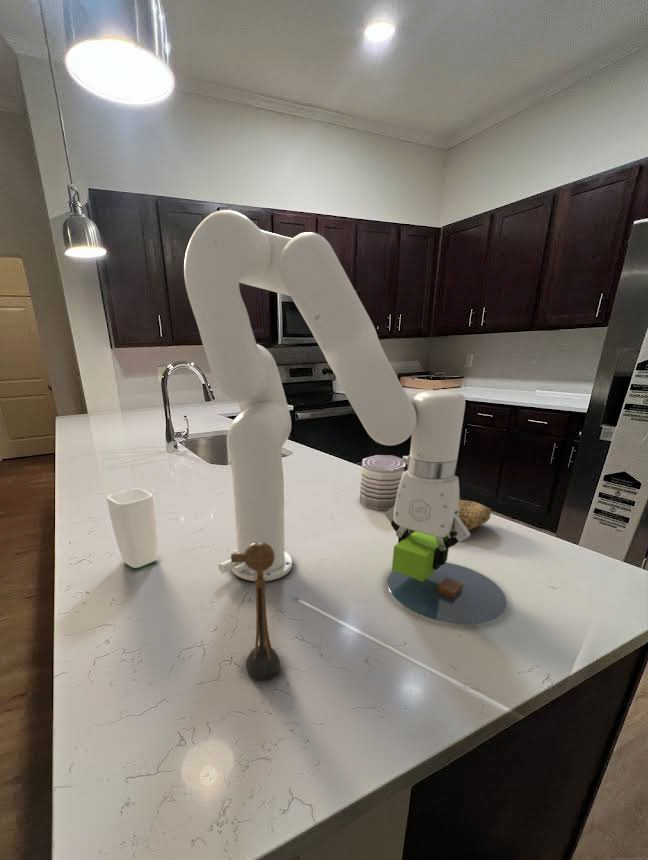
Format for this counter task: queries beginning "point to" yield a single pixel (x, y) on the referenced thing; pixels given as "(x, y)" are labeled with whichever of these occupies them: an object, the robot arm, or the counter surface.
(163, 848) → the counter surface
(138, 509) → the cup
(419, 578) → the small sponge
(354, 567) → the counter surface
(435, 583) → the plate
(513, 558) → the counter surface
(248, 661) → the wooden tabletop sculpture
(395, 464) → the can
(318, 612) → the counter surface
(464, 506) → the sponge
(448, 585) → the brown rectangular block
